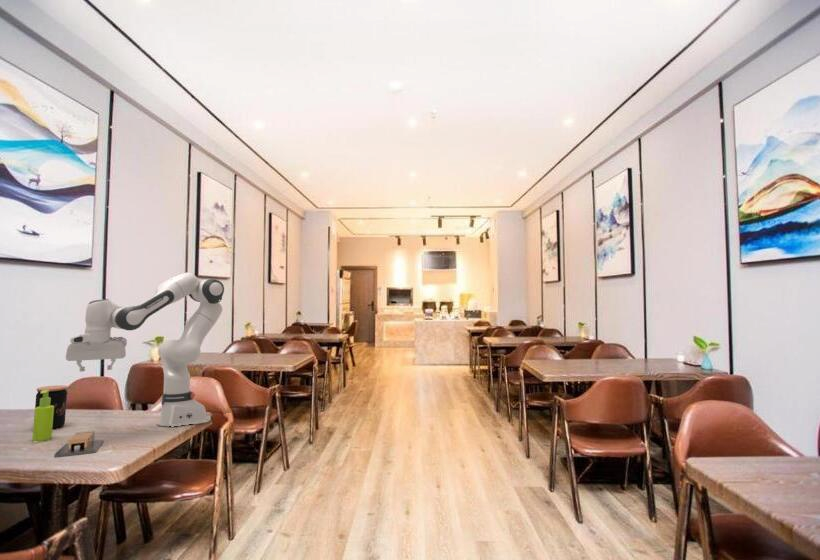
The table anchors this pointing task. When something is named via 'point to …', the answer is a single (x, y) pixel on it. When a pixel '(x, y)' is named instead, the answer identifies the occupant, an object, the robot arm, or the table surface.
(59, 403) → the coffee jar
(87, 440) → the lock block
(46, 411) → the soap dispenser
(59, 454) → the dock plate
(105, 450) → the table surface
